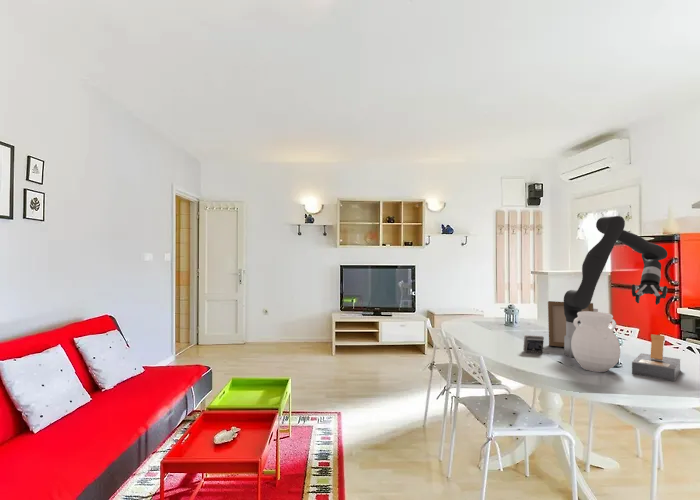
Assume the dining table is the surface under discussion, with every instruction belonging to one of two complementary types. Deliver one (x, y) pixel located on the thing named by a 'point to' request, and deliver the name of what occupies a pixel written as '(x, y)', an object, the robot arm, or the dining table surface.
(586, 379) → the dining table surface
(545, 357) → the dining table surface
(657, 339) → the lever
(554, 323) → the photo frame
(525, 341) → the electrical switch
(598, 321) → the white ceramic vase
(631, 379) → the dining table surface
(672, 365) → the box
